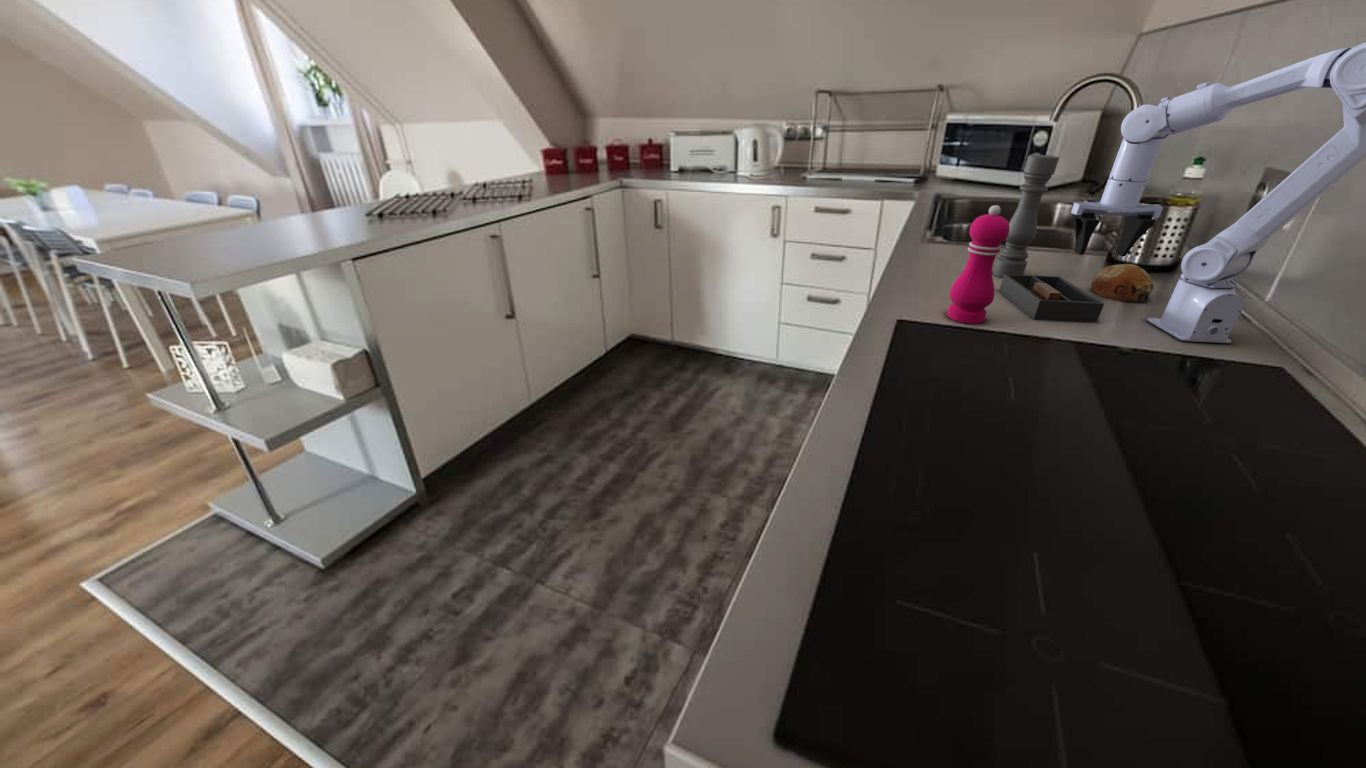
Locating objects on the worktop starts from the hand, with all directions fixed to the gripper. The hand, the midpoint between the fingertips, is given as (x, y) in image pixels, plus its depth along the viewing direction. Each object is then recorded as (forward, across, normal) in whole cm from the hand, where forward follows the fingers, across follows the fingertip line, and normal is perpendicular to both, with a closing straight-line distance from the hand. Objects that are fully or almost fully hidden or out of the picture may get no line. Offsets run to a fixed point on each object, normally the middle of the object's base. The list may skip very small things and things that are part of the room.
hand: (1099, 254), depth 107 cm
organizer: (+9, +9, +4) cm, 14 cm away
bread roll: (+10, -10, -5) cm, 15 cm away
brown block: (+9, +12, +4) cm, 15 cm away
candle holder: (+10, +8, -16) cm, 20 cm away
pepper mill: (+10, +27, +13) cm, 31 cm away
